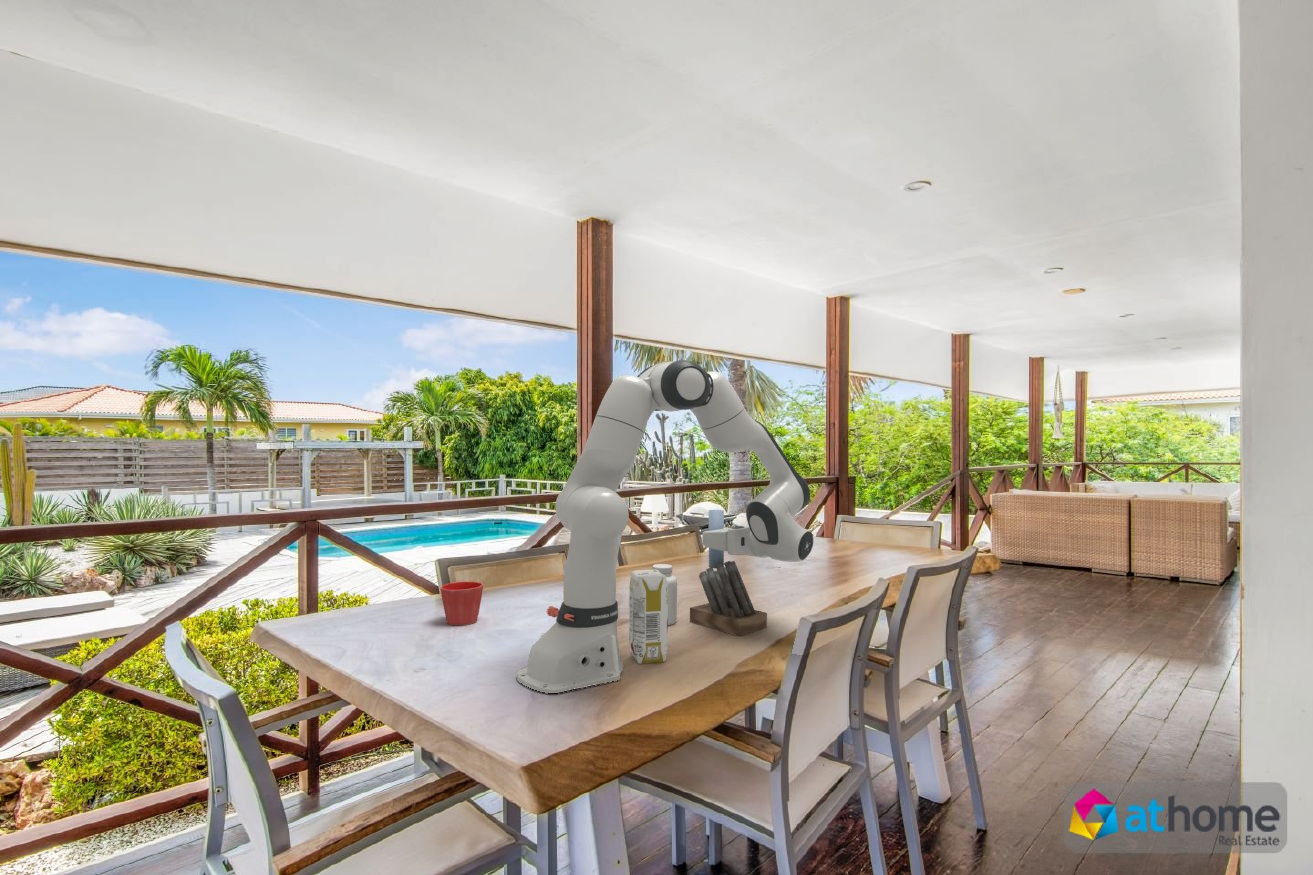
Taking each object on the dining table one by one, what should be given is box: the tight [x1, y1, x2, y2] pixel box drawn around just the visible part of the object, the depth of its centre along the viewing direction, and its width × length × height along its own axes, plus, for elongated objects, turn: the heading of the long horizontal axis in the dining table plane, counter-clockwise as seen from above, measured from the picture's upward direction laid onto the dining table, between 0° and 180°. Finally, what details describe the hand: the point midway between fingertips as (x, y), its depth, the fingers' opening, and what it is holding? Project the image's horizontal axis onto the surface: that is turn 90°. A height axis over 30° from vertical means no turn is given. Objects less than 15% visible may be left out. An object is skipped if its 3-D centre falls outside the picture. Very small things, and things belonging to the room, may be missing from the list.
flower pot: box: [440, 581, 484, 626], centre depth 177 cm, size 11×11×10 cm
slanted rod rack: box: [689, 560, 768, 637], centre depth 175 cm, size 17×11×18 cm, turn 43°
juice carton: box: [628, 569, 669, 665], centre depth 149 cm, size 8×9×19 cm
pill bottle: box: [651, 563, 678, 626], centre depth 177 cm, size 8×8×15 cm
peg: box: [708, 509, 725, 569], centre depth 178 cm, size 4×4×15 cm
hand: (713, 532), depth 179 cm, fingers closed on peg, 4 cm apart
